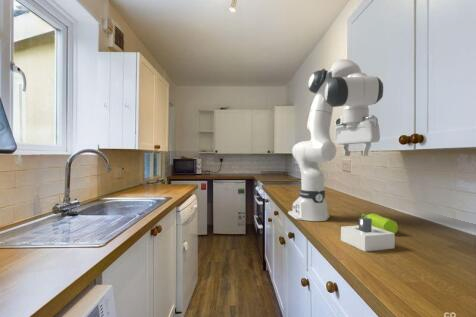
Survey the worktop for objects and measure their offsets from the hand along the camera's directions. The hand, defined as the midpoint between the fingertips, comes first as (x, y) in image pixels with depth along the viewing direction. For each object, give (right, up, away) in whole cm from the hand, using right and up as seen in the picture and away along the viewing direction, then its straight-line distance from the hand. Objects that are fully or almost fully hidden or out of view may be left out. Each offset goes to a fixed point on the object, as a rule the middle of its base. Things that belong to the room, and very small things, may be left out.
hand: (355, 155), depth 99 cm
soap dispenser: (+17, -29, +5) cm, 34 cm away
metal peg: (+1, -31, -6) cm, 32 cm away
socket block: (+1, -31, -6) cm, 32 cm away
